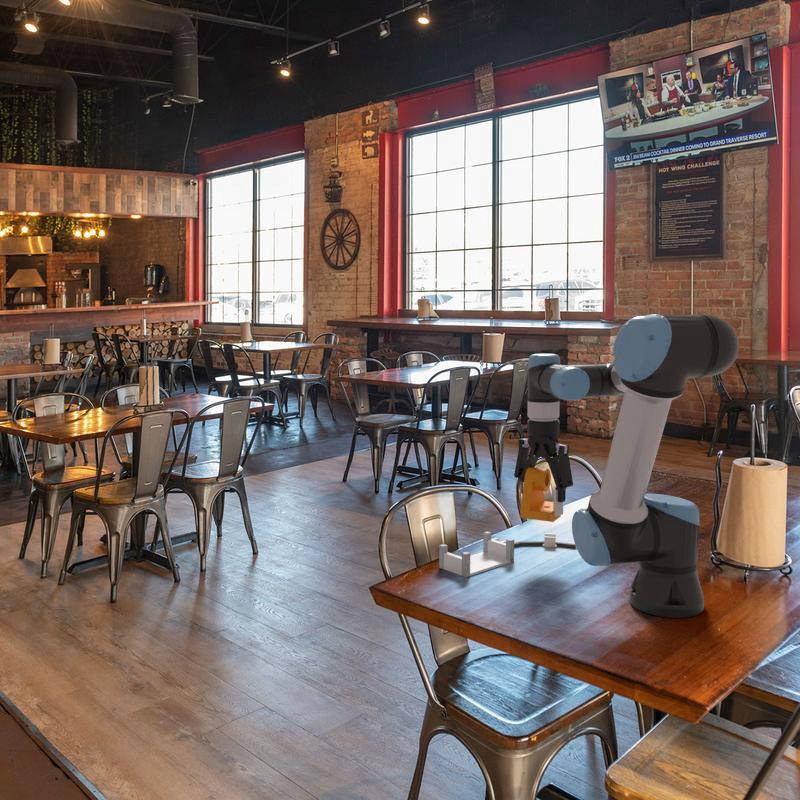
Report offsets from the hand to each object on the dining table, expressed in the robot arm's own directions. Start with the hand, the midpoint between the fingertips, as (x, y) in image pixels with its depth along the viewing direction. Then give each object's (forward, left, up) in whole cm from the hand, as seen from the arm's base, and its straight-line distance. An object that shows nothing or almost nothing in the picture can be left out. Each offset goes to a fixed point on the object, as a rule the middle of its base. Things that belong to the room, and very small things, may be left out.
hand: (542, 511), depth 203 cm
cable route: (+8, -6, -13) cm, 16 cm away
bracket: (0, 0, -2) cm, 2 cm away
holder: (+9, +13, -13) cm, 20 cm away
